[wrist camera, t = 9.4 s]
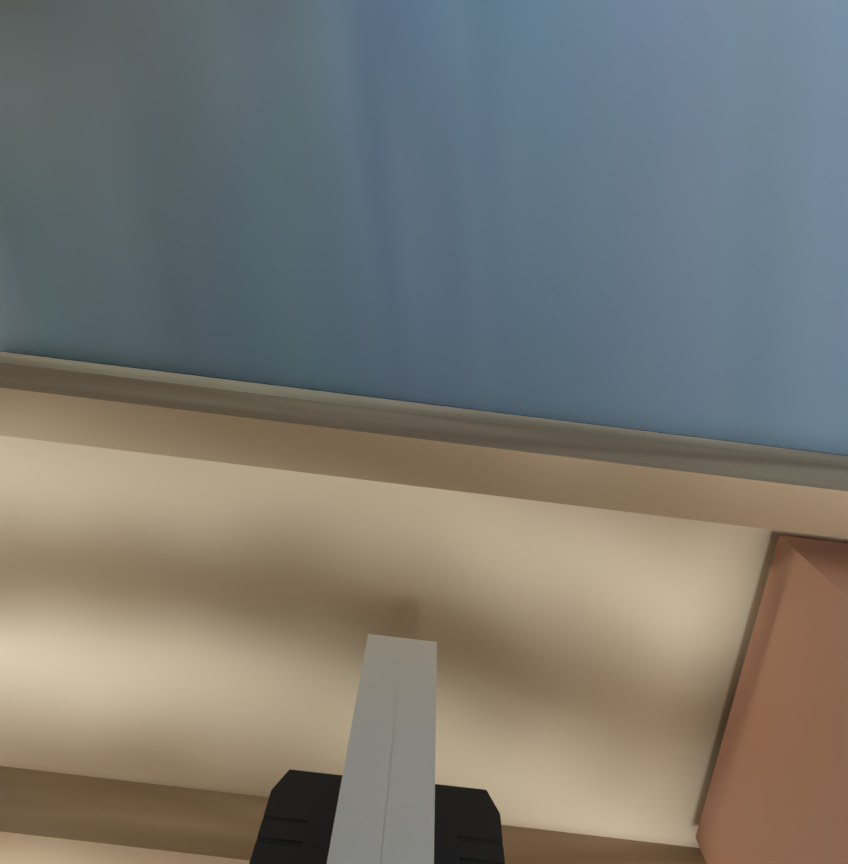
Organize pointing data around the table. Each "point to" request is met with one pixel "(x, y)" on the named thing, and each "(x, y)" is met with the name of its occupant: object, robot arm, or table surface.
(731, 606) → the bay
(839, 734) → the box
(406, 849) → the robot arm
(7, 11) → the table surface
